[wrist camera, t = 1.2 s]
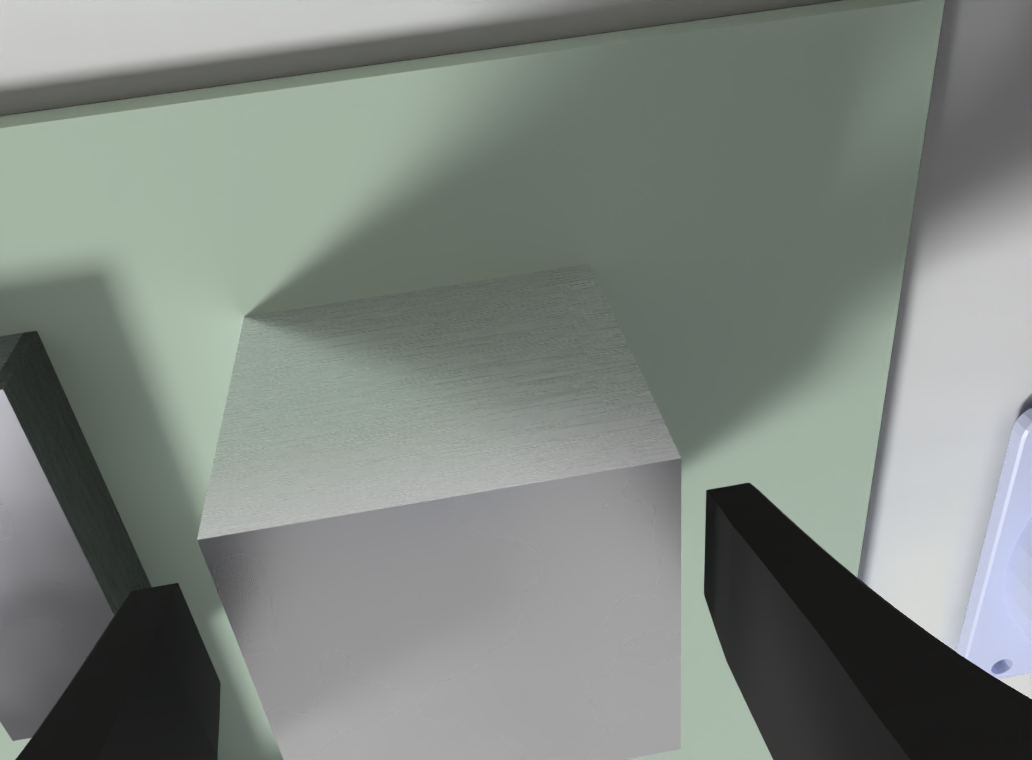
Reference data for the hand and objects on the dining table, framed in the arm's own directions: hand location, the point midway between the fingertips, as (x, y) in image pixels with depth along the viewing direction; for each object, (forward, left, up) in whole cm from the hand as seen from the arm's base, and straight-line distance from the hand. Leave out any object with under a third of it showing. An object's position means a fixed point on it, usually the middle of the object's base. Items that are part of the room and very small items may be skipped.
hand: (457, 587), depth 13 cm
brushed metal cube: (0, 0, -4) cm, 4 cm away
